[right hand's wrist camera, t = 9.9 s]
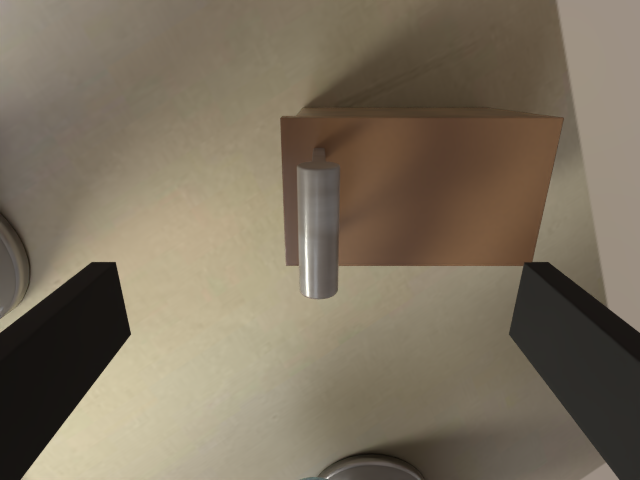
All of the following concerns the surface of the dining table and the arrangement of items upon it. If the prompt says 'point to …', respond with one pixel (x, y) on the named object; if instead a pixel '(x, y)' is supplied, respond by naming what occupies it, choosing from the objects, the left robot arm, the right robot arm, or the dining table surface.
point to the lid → (412, 191)
